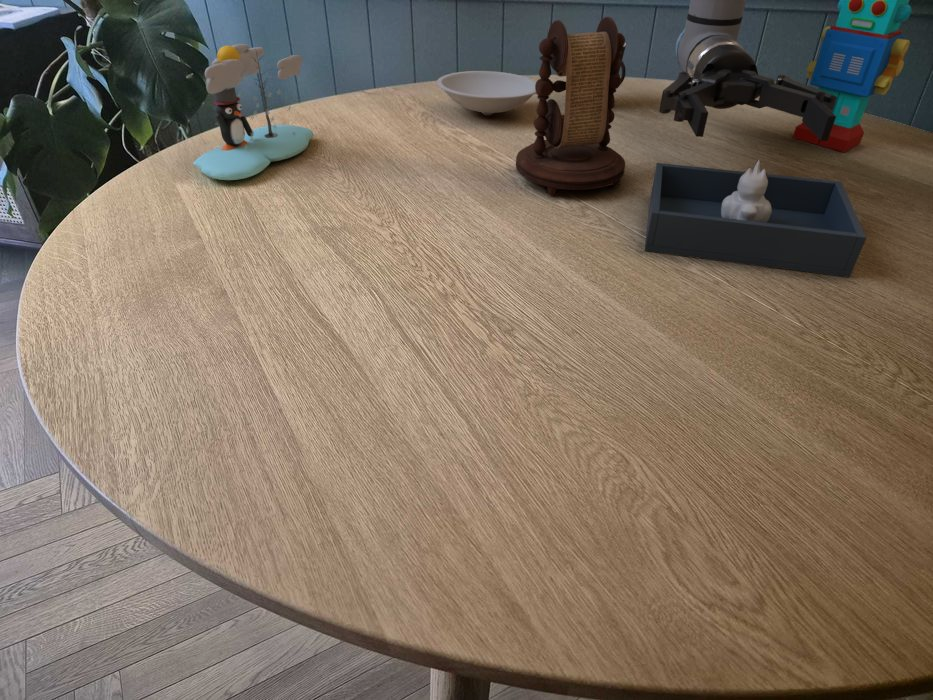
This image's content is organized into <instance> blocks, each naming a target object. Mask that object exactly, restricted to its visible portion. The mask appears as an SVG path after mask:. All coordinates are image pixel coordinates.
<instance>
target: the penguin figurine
mask: <svg viewBox="0 0 933 700" xmlns="http://www.w3.org/2000/svg"><path fill="white" fill-rule="evenodd" d="M264 54H265V50H264V47H262V46H256V47H249V45H248V44H247V43H237V44H233V45H223V46H222V47H220V48H219V49H218V51H217V55H216V56H217V57H216V58H215V59H214V60H213V61H212V62H211V65H210V66H208V67H206V68H205V70H204V77H205V82H206V83H205V88H206V92H207V93H208V94H211V95H214V100H213V104H214V106H213V107H212V109H213V110H214V111H216V112H215V113H216V115H215V119H216V120H215V122H214V123H215V126H217V125H219V130H220V134H221V138H222V140H223V142H224V144H223V146H219V147H216V148H213V149H211V150H208V151H206V152H204V153H203V154H202V155H200V156H199V157H197V158H196V159H195V160H194V161H193V163H192V165H193V166H195V167H196V168H198V169H199V170H201V172H202V173H203V174H204V175H205V176H206V177H209V178H211V179H214V180H220V181H221V180H223V181H237V180H238V181H239V180H244V179H248V178H251V177H253V176H255V175H258V174H259V173H261V172H262V171H264V170H265V169H266V168H267V167H268V166H269V165H270V164H271V162H279V161H283V160H288V159H290V158H292V157H295V156H297V155H299V154H300V153H302V152H303V151H305V150H306V149H307V148H308V146H309V142H310V140H311V139H312V138H313V137H314V131H313V130H312V129H311V128H307V127H304V126H299V125H292V124H275V122H274V121H275V120H276V118H275V116H271V117H270V114H271V113H270V109H269V108H268V103H267V99H269V98H270V99H272V96H273V94H272V92H270V91H268V88H266V85H267V84H266V83H267V82H269V80H268V79H265V80H264V81H263V77H262V75H263V73H261V69H262V68H261V62H260V58H265V56H264ZM302 64H303V58H302V57H301V55H299V54H293V55H289V56H288V57H284V58H282V59H280V60H278V61H277V64H276V68H277V69H279V70H278V71H277V78H278V79H279V80H280V81H283V80H285V79H288V78H290V77H295V76H297V75H299V74H300V73H301V66H302ZM270 70H271V71H272V68H270V69H267V70H266V72H267V71H270ZM262 71H263V72H265V71H264V70H262ZM257 74H259V81H260V84H261V85H258V83H257V82H256V81H257V80H256V78H254V79H253V80H254V82H255V83H256V84H255V85H258V88H260V89H261V90H262V92H261V95H262V100H263V105H264V114H265V118H266V122H267V125H264V126H260V127H256V128H254V129H252V127H251V125H250V123H249V121H248V119H247V117H246V116H245V115H244V114H242V113H241V111H242V109H243V105H242V104H240V103H239V101H240V99H241V97H242V92H241V91H237V92H236V87H238V86H240V84H241V82H243V81H244V78H246V77H252V76H254V75H257ZM265 89H267V90H266V91H265ZM267 91H268V93H267ZM281 93H282V92H281V90H280V89H277V90H276V94H278V96H281ZM266 94H267V95H266ZM252 99H253V101H254V102H256V104H255V107H256V109H260V108H261V105H260V104H261V103H260V102H259V103H258V101H257V100H259V99H258V97H257V96H256V94H254V97H252ZM287 105H288V106H287V112H288V111H289V112H290V111H291V110H292V108H291V107H292V105H290V104H287ZM258 114H259V113H258V112H257V110H254V112H253V114H251V116H250V120H254V118H255V117H257V115H258ZM272 123H273V124H272Z"/></svg>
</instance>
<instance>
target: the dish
mask: <svg viewBox="0 0 933 700" xmlns="http://www.w3.org/2000/svg"><path fill="white" fill-rule="evenodd" d="M536 82H537V80H535V79H532V78H530V77H527V76H523V75H520V74H515V73H510V72H505V71H495V70H494V71H493V70H492V71H491V70H468V71H457V72H452V73H448V74H444V75H442V76H440V77H439V78H438V79H437V81H436V84H437V87H438V88H440V89H441V90H443V91H444V92H445V93H446V95H447V96H448V97H449V98H450V99H451V100H452V101H453V102H454V103H456V104H457V105H459V106H461V107H462V108H464V109H467V110H469V111H473V112H479V113H482V115H484V116H492V115H493V114H499V113H505V112H510V111H513V110H515V109H518V108H520V107H521V106H522V105H524V104H525V103H526V102H527V101H529V100H530V99H531V98H532V97H533V96H534V95H537V94H536V91H535V84H536Z"/></svg>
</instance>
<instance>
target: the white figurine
mask: <svg viewBox="0 0 933 700" xmlns="http://www.w3.org/2000/svg"><path fill="white" fill-rule="evenodd" d="M760 166H761V163H760V159H758V161H757V162H756V164H755V166H754V168H753V169H752V167H749V168H748V169H747V170H746V171H744V172H745V173H744V174H743V175H742V176H741V177H740V179H739V183H738V187H737V190H738V191H735V192H733V193H732V195H730V196H727V197H726V198H725V199H724V200H723V202H722V207H721V216H722V218H729V219H737V220H746V221H755V222H763V223H766V222H767V221H768V220H769V218H770V215H771V213H772V209H771V204H770V202H769V201H768V200H766V199H765V197H764V194H765V191H766V188H767V185H768V180H767V176H766V174H767V172H766V169H765V168H763V169H762V170H760V169H761V167H760Z"/></svg>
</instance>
